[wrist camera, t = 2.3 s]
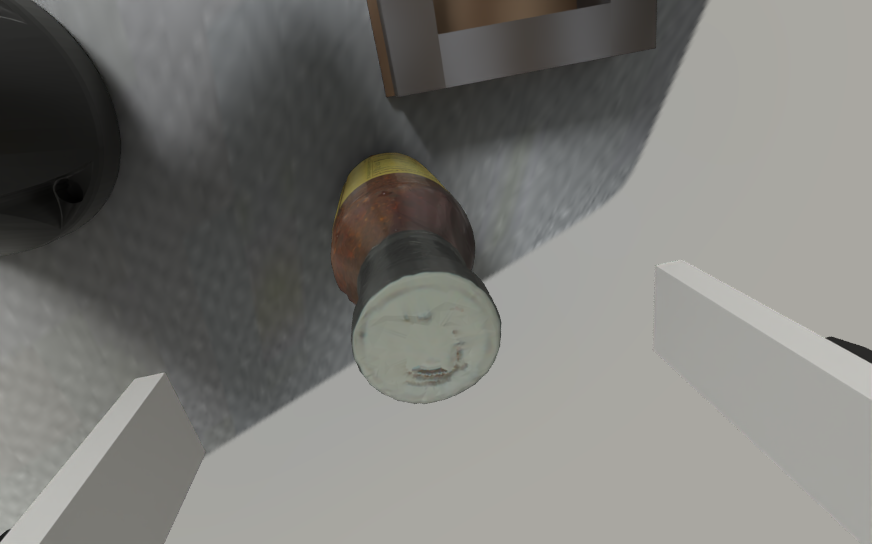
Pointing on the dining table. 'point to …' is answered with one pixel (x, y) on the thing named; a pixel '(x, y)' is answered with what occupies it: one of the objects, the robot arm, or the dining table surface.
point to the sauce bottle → (411, 282)
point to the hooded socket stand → (499, 37)
